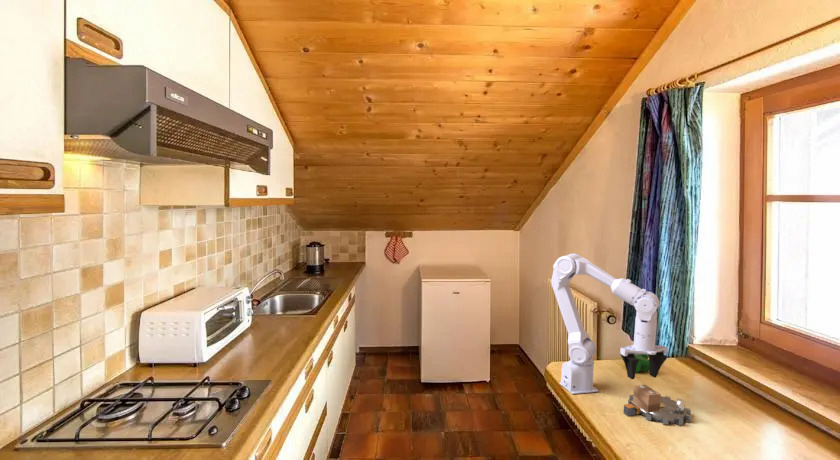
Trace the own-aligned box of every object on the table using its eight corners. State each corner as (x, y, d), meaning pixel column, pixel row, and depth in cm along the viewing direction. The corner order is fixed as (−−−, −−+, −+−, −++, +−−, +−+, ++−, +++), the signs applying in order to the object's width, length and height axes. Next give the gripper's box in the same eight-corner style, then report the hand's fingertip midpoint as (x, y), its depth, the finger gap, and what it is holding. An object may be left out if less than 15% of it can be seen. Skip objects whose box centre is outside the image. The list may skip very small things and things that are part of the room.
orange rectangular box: (627, 416, 122) (628, 407, 122) (623, 413, 124) (624, 404, 124) (635, 415, 123) (635, 406, 123) (630, 412, 125) (631, 403, 124)
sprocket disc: (619, 408, 126) (620, 392, 126) (640, 392, 137) (641, 377, 137) (680, 431, 114) (681, 413, 114) (698, 411, 125) (699, 395, 125)
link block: (659, 410, 122) (660, 393, 121) (647, 412, 121) (649, 394, 121) (644, 400, 128) (645, 384, 127) (632, 402, 127) (633, 385, 126)
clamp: (644, 384, 154) (655, 367, 149) (627, 378, 155) (637, 361, 150) (641, 361, 164) (651, 344, 159) (625, 356, 165) (634, 339, 160)
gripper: (633, 338, 122) (629, 384, 123) (676, 336, 125) (672, 381, 126) (616, 331, 129) (614, 374, 130) (658, 329, 132) (655, 371, 133)
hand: (641, 377), depth 129 cm, fingers open, 7 cm apart
